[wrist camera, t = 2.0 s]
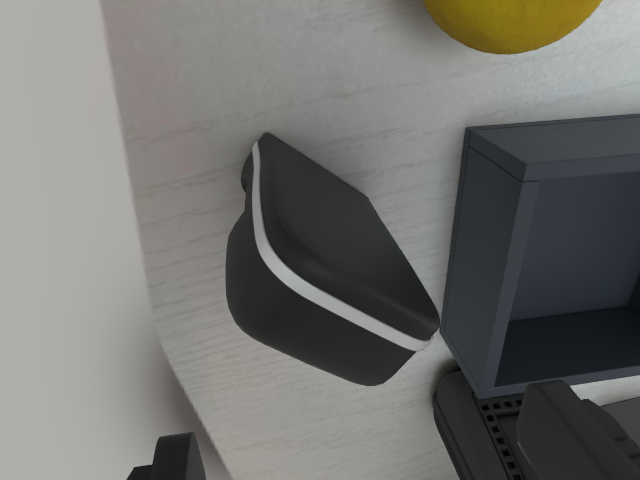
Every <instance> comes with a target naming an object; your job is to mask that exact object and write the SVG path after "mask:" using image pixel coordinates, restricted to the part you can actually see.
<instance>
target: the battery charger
mask: <svg viewBox="0 0 640 480" xmlns="http://www.w3.org/2000/svg"><path fill="white" fill-rule="evenodd" d="M241 184H242V187H243V189H244V191H245V192H246V200H245V211H244V212H243V214H242V215H241V217H240V218H239V219H238V221H237V222H236V224H235V225H234V227H233V229H232V231H231V233H230V235H229V238H228V243H227V252H226V296H227V302H228V307H229V309H230V312H231V314H232V316H233V318H234V321H235V322H236V324H237V325H238V326H239V327H240V328H241V329H242V331H244V332H245V333H246V334H248V335H249V336H250V337H252V338H253V339H255V340H257V341H259V342H261V343H263V344H265V345H267V346H269V347H271V348H274V349H276V350H278V351H280V352H282V353H285V354H287V355H289V356H291V357H294V358H296V359H298V360H300V361H302V362H305V363H307V364H309V365H311V366H314V367H316V368H319V369H321V370H324V371H326V372H328V373H331V374H333V375H336V376H338V377H341V378H343V379H345V380H348V381H350V382H353V383H357V384H360V385H365V386H376V385H379V384H383V383H384V382H386V381H387V380H388V379H389V378H391V377H392V376H393V375H394V374H395V373H396V372H397V371H398V370H399V369H400V368H401V367H402V366H403V365H404V364H405V363H406V362H407V361H408V360H409V359H410V358H411V357H412V356H413V355H414V354H415V353H416V352H417V351H421V350H423V349H425V348H426V347H427V346H428V345H429V344H430V343H431V342H432V339H433V334H434V333H435V332H436V331H437V329H438V328H439V326H440V318H439V314H438V311H437V309H436V307H435V305H434V303H433V302H432V300H431V298H430V296H429V295H428V293H427V291H426V290H425V288H424V286H423V285H422V283H421V281H420V280H419V278H418V276H417V275H416V273H415V271H414V270H413V268H412V267H411V265H410V263H409V262H408V260H407V259H406V257H405V256H404V254H403V252H402V251H401V249H400V248H399V246H398V245H397V243H396V242H395V240H394V239H393V237H392V236H391V234H390V233H389V231H388V230H387V228H386V227H385V225H384V224H383V222H382V221H381V219H380V217H379V216H378V214H377V212H376V211H375V209H374V207H373V206H372V204H371V202H370V201H369V199H368V198H367V197H366V196H365V195H363V194H362V193H360V192H359V191H357V190H356V189H354V188H353V187H351V186H350V185H348V184H347V183H345V182H344V181H342V180H341V179H339V178H338V177H336V176H335V175H333V174H332V173H330V172H329V171H327V170H326V169H324V168H323V167H321V166H320V165H318V164H317V163H315V162H314V161H312V160H311V159H309V158H307V157H306V156H304V155H303V154H301V153H300V152H298V151H297V150H295V149H294V148H292V147H291V146H289V145H288V144H286V143H284V142H283V141H281V140H280V139H278V138H277V137H275V136H274V135H272V134H270V133H266V134H264V135H263V136H262V137H261V138H260V140H259V141H256V143H255V144H254V146H253V147H252V152H251V154H250V155H249V157H248V158H247V160H246V162H245V165H244V167H243V170H242V175H241Z"/></svg>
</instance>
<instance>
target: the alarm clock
mask: <svg viewBox="0 0 640 480" xmlns="http://www.w3.org/2000/svg"><path fill="white" fill-rule="evenodd" d="M600 408H602V409H603V410H605V411H606V412H607V413H609V414H610V415H611V416H612V417H613V418H614V419H615V420H616V421H617V422H618V424H619V425H620V426H621V427H622V428H623V429H624V430H625V432H626V433H627V434H628V435H629V438H630V440H633V441H634V442H635V443H636V444H637V445H638V446H639V448H640V398H636V399H631V400H627V401H623V402H618V403H614V404H610V405H605V406H601V407H600Z"/></svg>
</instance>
